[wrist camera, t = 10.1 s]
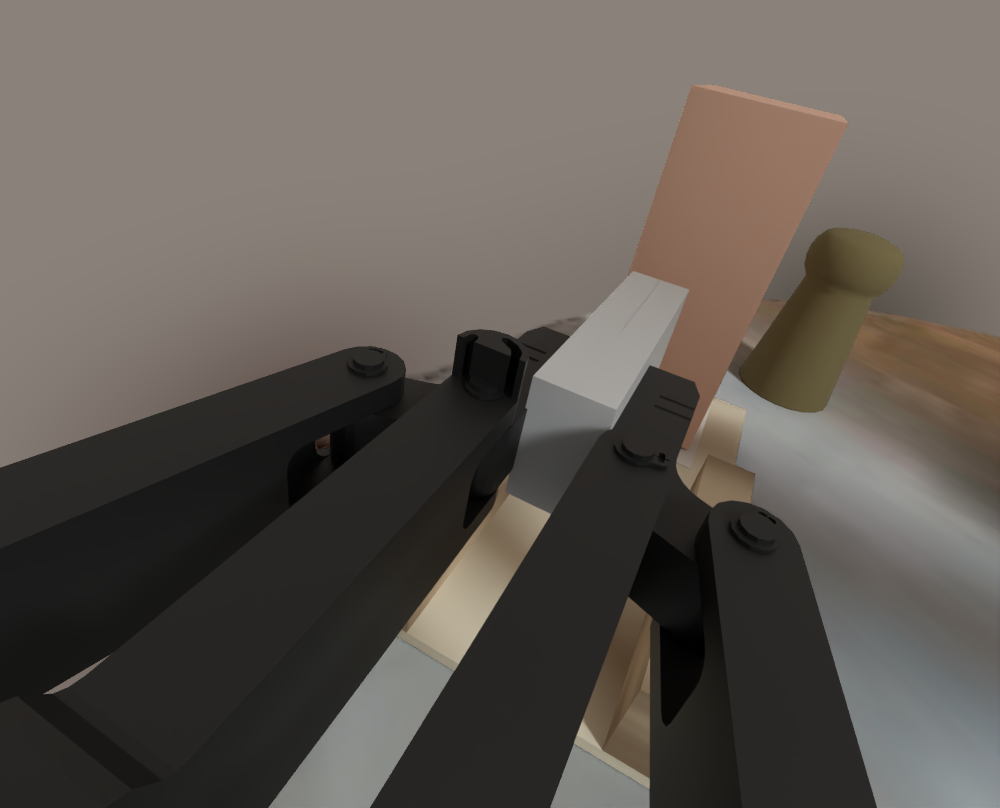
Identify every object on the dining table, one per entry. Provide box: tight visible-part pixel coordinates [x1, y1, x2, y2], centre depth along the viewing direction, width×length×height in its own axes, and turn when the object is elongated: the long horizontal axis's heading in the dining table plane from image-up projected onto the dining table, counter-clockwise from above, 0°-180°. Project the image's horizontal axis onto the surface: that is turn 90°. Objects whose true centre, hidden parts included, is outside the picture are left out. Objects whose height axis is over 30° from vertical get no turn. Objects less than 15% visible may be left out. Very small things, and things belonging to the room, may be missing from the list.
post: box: [628, 85, 848, 450], centre depth 29 cm, size 6×6×16 cm
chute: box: [397, 398, 755, 789], centre depth 26 cm, size 24×11×4 cm, turn 153°
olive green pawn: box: [739, 228, 904, 412], centre depth 37 cm, size 6×6×11 cm
